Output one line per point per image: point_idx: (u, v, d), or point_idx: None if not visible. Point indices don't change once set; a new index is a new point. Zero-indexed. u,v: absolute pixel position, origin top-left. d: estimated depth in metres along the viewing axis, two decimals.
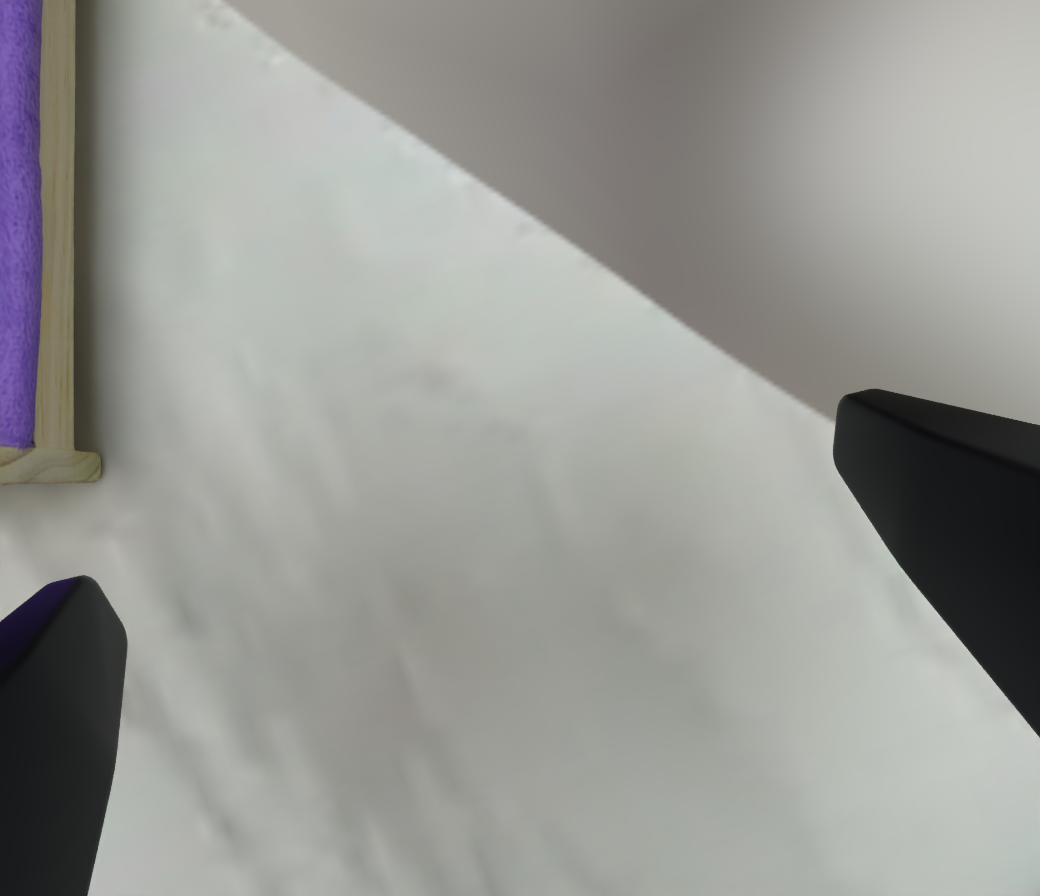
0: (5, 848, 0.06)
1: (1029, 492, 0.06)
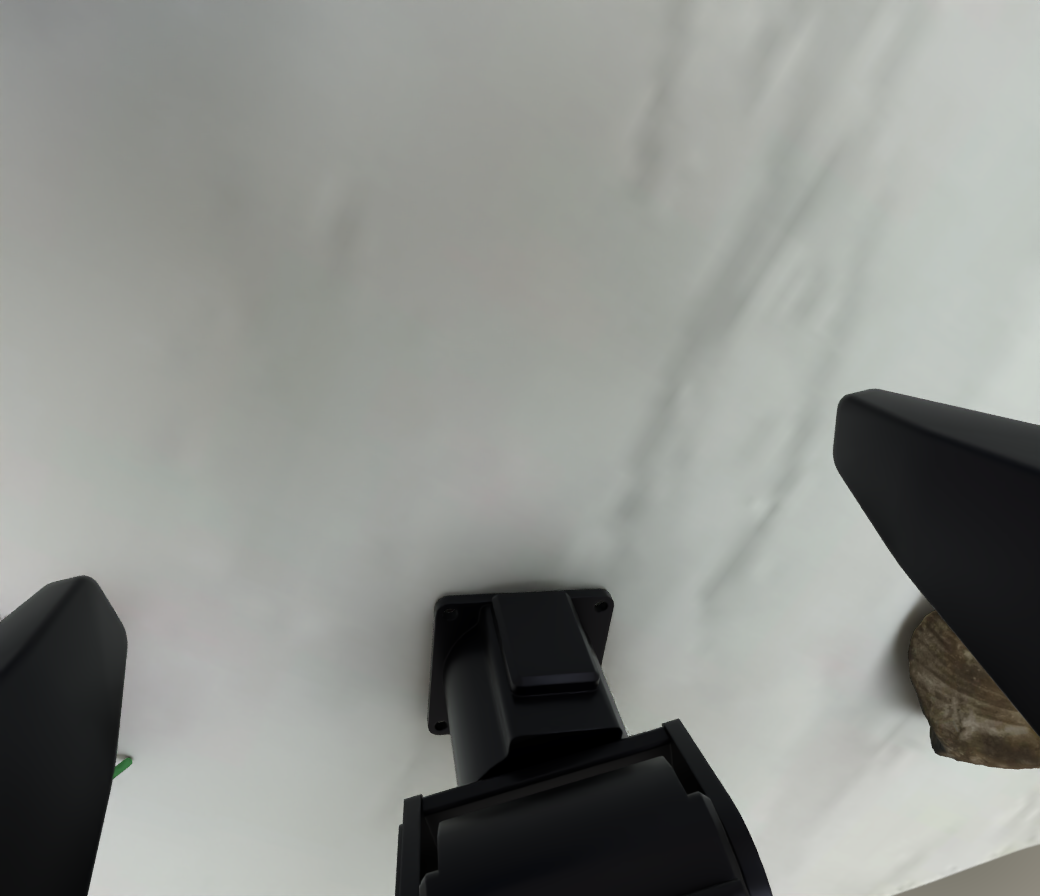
0: (5, 849, 0.06)
1: (1030, 492, 0.06)
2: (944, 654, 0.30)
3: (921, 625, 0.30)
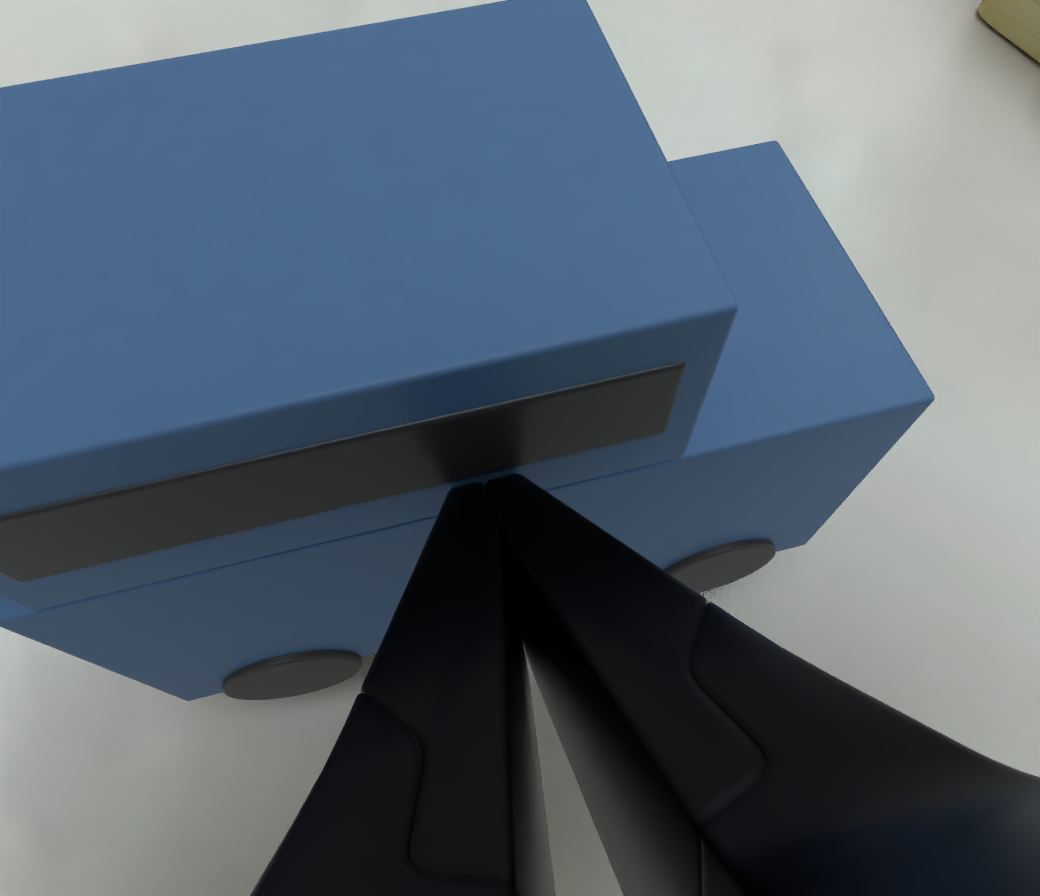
0: (525, 709, 0.06)
1: (549, 615, 0.06)
2: None
3: None
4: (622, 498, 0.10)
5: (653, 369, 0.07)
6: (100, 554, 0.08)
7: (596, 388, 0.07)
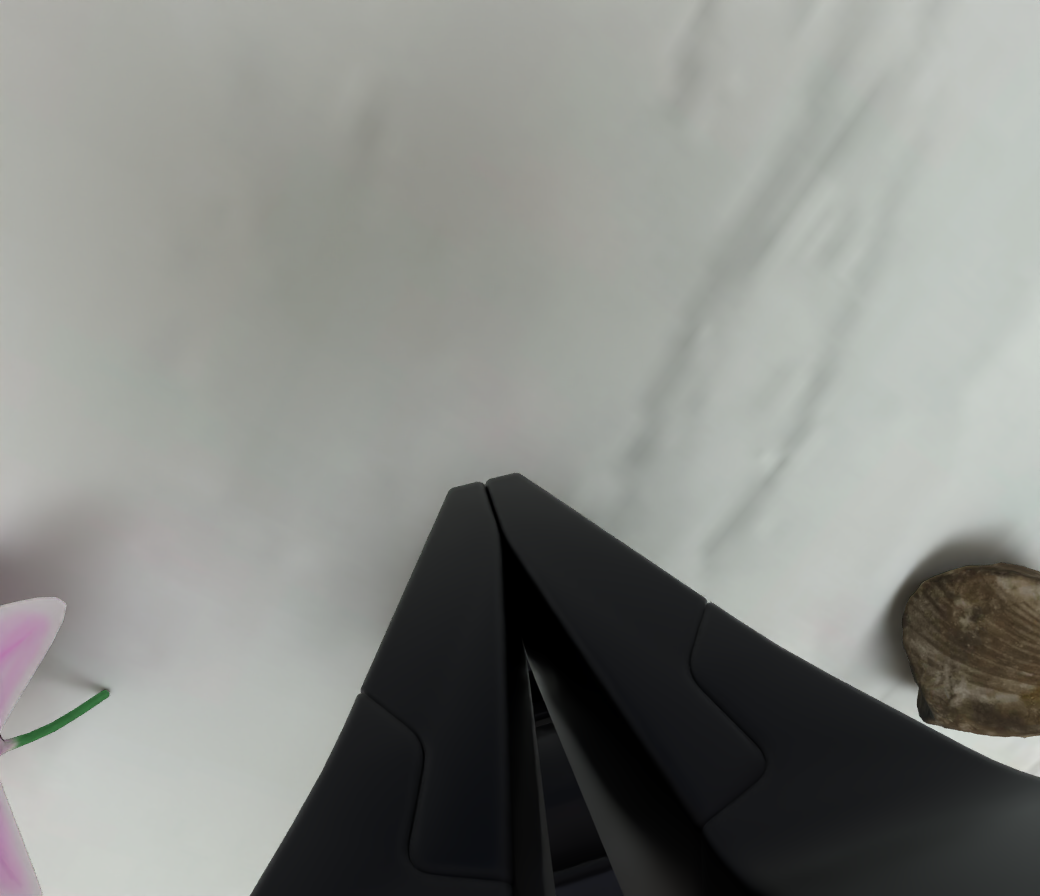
0: (525, 709, 0.06)
1: (549, 616, 0.06)
2: (939, 621, 0.30)
3: (917, 592, 0.30)
4: None
5: None
6: None
7: None
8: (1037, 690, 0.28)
